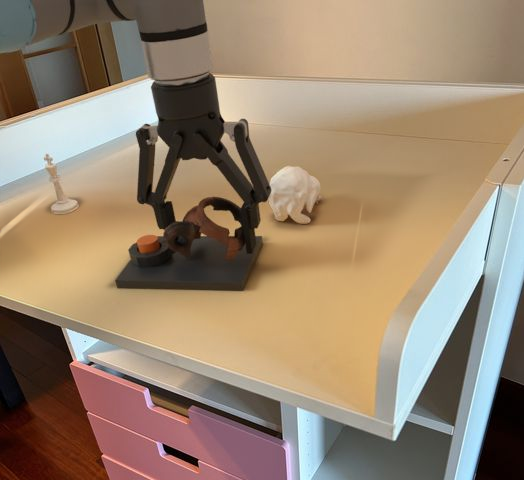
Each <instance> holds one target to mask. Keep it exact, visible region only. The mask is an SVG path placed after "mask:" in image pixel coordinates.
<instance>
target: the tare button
mask: <svg viewBox="0 0 524 480" xmlns="http://www.w3.org/2000/svg"><path fill="white" fill-rule="evenodd" d="M157 236H158V235H156V234H146V235H143V236H141V237H139V238H138V239H137V240H136V242H137V244H138V248H139V252H140V253H151V252H155V251H157V250H159V249H160V244H159V240H158V237H157Z"/></svg>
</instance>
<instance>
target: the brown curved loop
mask: <svg viewBox="0 0 524 480" xmlns="http://www.w3.org/2000/svg"><path fill="white" fill-rule="evenodd" d="M209 206H210V207H212V210H213V211H216V212H217V211H218V212H219V211H221V212H222V211H223V212H228V211H229V212H230V213H231V215H232V217H233V219H234V221H235V222H238V223H239V224H240V226H239V227H237V228H235V229H234V235H230V233H231V232H230V229H229V228H227V227H224V226H222V225H219V224H217V223H215V222H214V221H213V220H212V219H211V218H210V217H208V216H207V214H206V212H205V208H207V207H209ZM202 235H203V236H208V237H209V238H213V239H215V240H217V241H218V242H221V243H223V244H227V251H226V254H225V256H224V257H225V259H226V260H233V259H234V258H235V257H236V255H237V254H238V251H240V250H242V248H243V247H244V245H245V237H244V230H243V223H242V215H241V207H240V206H239V205H237V204H236V203H235V202H233V201H231V200H229V199H227V198H225V197H224V198H223V197H220V196H208V197H205V198H202V199H201V200H200V201H199V202H198V205H195V206H193V207H191V208H190V209H189V210H187V212H186V213H185V215H184V217H183V218H182V220H180V221H178V220H176V222H174V223H172V224H170V225H169V226H168V227H167V228H166V229H165V230H163V233H162V236H163V239H164V243H165V244H166V245H167V246H168V247H169V249H171V250H172V251H175V252H180V254H181V255H183V256H185V257H190V250H191V245H192V241H193V240H194V239H200V237H201V236H202ZM178 236H179V237H178ZM176 237H178V240H177V241H176V240H175V238H176Z"/></svg>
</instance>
